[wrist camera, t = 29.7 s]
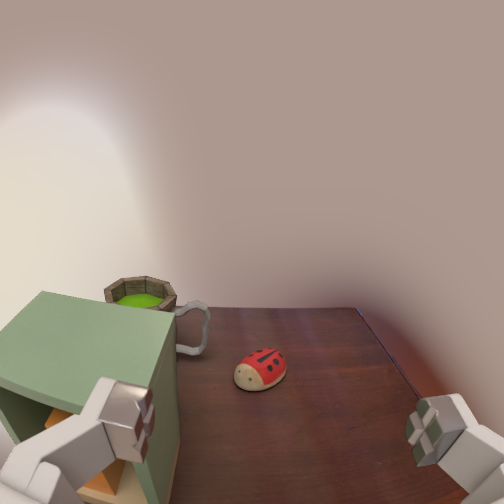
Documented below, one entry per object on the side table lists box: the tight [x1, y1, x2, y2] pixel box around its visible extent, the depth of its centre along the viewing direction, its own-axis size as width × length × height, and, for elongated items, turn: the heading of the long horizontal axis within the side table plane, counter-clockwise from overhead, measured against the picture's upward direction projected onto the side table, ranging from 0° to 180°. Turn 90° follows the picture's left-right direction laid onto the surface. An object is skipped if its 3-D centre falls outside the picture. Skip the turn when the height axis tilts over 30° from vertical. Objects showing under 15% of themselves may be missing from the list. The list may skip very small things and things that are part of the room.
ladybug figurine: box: [234, 348, 286, 391], centre depth 47 cm, size 7×10×4 cm
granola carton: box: [45, 407, 126, 496], centre depth 23 cm, size 5×4×11 cm
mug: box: [104, 276, 211, 362], centre depth 45 cm, size 16×11×12 cm
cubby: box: [0, 291, 181, 504], centre depth 24 cm, size 12×14×19 cm
